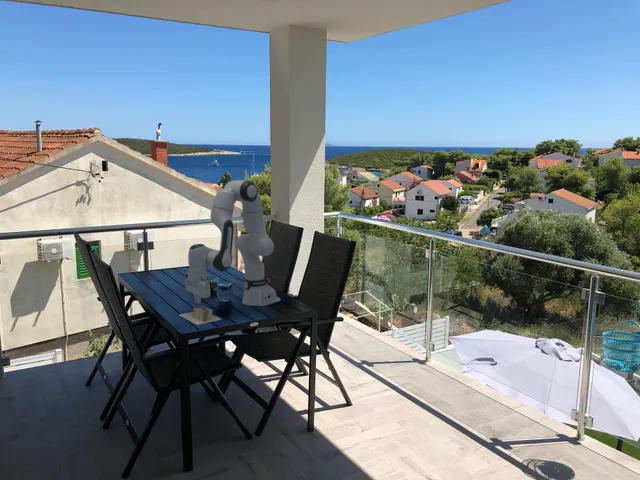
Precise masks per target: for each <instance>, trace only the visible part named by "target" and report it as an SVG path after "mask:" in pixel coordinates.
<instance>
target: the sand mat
mask: <svg viewBox="0 0 640 480" xmlns="http://www.w3.org/2000/svg"><path fill="white" fill-rule="evenodd" d="M179 317H182V318H184V319H185V320H187V321H189V322H191V323H193V324H195V325H197V326H199V325H203V324H208V323H211V322H217V321H220V320H223V318H220V317H219V316H217V315H215V314H213V313H212V320H209V321H204V322H203V321H201V320H199V319H197V318H195V317H194V311H190V312H185V313H181V314H179Z"/></svg>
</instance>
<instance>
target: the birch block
mask: <svg viewBox="0 0 640 480" xmlns="http://www.w3.org/2000/svg"><path fill="white" fill-rule="evenodd" d="M193 312H194V317H195V318H197V319H199V320H201V321H203V322H204V321H209V320H212V314H213V309H211V308H208V307H206V306H204V305H199V306H194V307H193Z"/></svg>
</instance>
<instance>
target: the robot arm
mask: <svg viewBox="0 0 640 480" xmlns="http://www.w3.org/2000/svg"><path fill="white" fill-rule="evenodd" d="M237 201H238V202H241V205H242V207H241V208H242V223H243V228H245V229H246V230H247V232H248V233H245V234H244V233H243V234H241V235H239V236H238V237H237V238H236V241H235V247H236V249H237V250H238V251H239V253H240V255H241V257H242V260H243V264H244V265H243V266H244V278H243V287H244V290H243V291H244V292H243V296H242V300H241V303H242V304H243V305H246V306H252V307H253V306H255V307H256V306H257V307H265V306H268V305H272V304H275V303H278V302H280V301H281V298H280V297H279V296H277V292H276V289H274V288H273V287H272V286H270V284H268V283H270V282H271V279H270V278H268V277H267V278H265V264H264V262H263V261H262V260H261V258H260V257H266V256H270V255H272V253H273V252H274V247H275V244H274V242H273V240H272V238H271V237H269V235H268V232H267V231H266V227H265V225H264V216H263V213H264V212H263V204H262V199H261V195H260V193H259V190H258V187H257V185H256V183H254V182H253V181H250V180H244V179H243V180H242V179H235V180H234V179H233V180H232V179H231V180H227V181H225V182H224V183H223V184H222V187H221V188H220V189H218V190H217V192H216V194H215V196H214V199H213V202H212V206H211V210H210V220H211V222H212V223H213V225H215V226H216V227H217V228H218V230H219V231H220V234H221V235H220V244H219V249H218V250H217V249H213V248H210V247H207V246H206V245H205V244H204V243H196V244H192V245H191V246H190V247H189V249H188V255H187V256H188V260H187V261H188V262H187V263H188V272H186V273H184V278H185V279H184V286H185V290H186V291H188V292H189V293H191V294H193V297H194V302H195V303H197V304H202V302H201V301H202V299H208V298H210V297H211V285H210V283H209V282H208V279H207V268H209V269H214V270H217V271H219V272H226V271H227V270H229V269H230V268H231V266H232V264H233V242H234V231H235V229H234V228H235V225H234V223H233V213H234V209H235V204H236V202H237Z"/></svg>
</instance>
